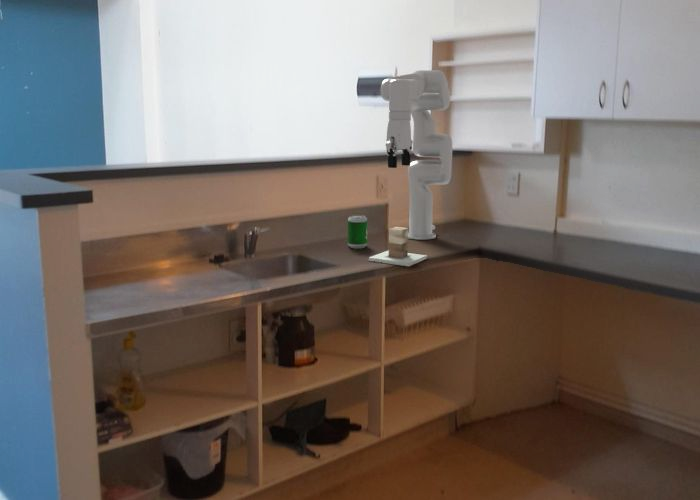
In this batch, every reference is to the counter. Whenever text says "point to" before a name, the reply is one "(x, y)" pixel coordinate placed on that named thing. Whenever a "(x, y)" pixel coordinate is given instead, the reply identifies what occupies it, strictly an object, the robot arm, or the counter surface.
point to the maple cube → (398, 235)
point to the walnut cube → (398, 250)
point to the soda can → (357, 231)
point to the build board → (398, 259)
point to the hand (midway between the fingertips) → (399, 166)
